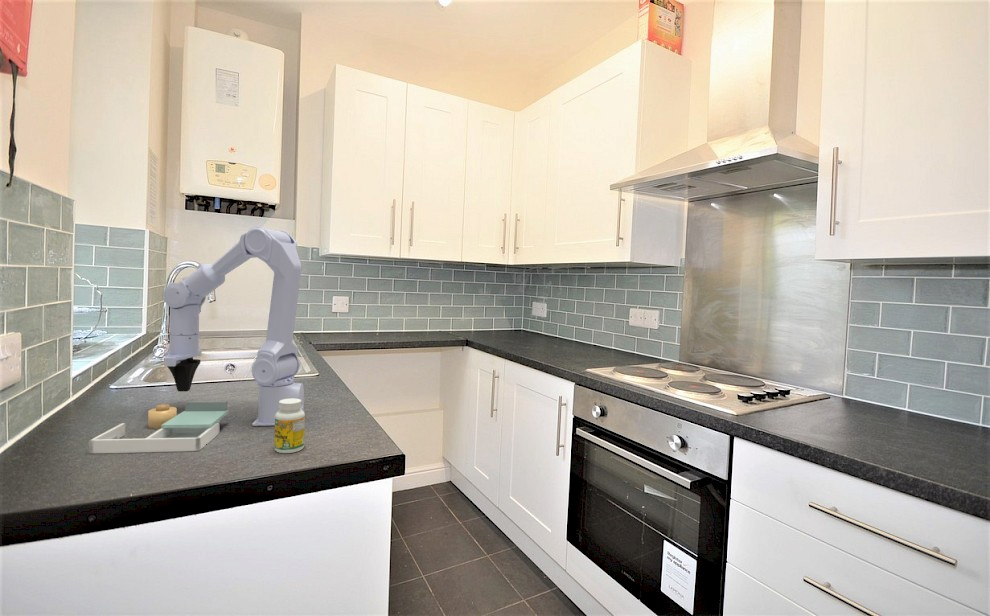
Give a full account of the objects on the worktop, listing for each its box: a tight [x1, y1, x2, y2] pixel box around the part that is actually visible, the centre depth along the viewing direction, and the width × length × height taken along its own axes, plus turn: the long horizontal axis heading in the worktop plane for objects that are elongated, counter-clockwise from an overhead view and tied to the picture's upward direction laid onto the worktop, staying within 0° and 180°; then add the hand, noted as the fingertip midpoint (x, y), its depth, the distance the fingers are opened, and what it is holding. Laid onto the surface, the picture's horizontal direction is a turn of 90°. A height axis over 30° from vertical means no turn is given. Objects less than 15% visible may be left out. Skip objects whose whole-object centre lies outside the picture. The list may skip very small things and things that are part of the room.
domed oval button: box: [147, 403, 178, 430], centre depth 100 cm, size 5×5×4 cm
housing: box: [88, 421, 221, 454], centre depth 90 cm, size 18×10×2 cm, turn 102°
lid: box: [162, 400, 230, 428], centre depth 97 cm, size 9×10×3 cm
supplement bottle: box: [274, 398, 306, 454], centre depth 90 cm, size 5×5×10 cm
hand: (183, 390), depth 109 cm, fingers closed
